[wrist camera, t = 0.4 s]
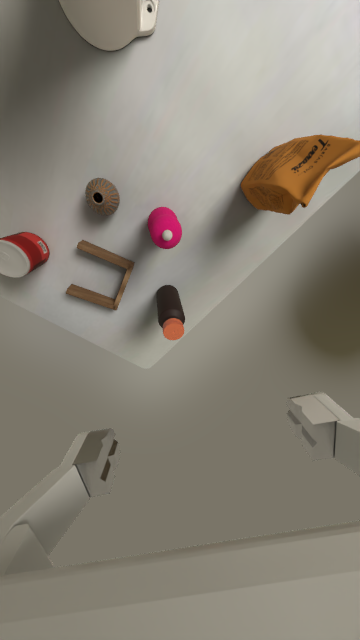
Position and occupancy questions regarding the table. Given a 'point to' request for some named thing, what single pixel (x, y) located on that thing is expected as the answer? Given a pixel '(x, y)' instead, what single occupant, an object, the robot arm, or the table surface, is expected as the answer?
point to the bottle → (170, 312)
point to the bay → (95, 296)
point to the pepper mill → (164, 228)
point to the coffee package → (295, 171)
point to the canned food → (22, 254)
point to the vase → (102, 196)
